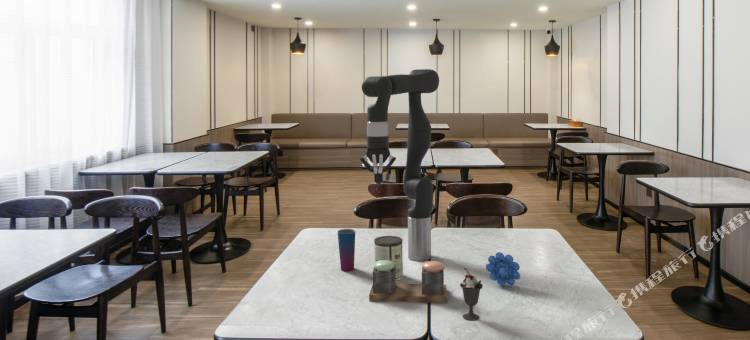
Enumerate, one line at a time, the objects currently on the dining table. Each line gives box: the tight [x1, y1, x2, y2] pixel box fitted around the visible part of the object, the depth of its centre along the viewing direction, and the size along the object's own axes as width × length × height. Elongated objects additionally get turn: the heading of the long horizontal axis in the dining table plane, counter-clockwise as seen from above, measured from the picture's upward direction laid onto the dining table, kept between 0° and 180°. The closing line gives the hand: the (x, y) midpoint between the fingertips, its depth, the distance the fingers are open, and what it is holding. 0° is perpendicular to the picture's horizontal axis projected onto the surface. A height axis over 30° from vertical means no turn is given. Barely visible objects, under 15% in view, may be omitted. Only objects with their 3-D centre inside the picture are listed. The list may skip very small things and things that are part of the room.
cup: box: [337, 228, 356, 272], centre depth 200 cm, size 7×7×15 cm
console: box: [368, 265, 448, 304], centre depth 174 cm, size 25×11×9 cm, turn 83°
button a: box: [374, 260, 394, 272], centre depth 174 cm, size 6×6×8 cm
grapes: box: [485, 251, 521, 287], centre depth 179 cm, size 12×7×12 cm, turn 80°
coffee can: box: [373, 235, 404, 282], centre depth 191 cm, size 10×10×14 cm
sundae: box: [459, 267, 483, 322], centre depth 156 cm, size 7×7×15 cm
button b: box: [422, 260, 444, 273], centre depth 172 cm, size 6×6×8 cm
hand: (378, 183), depth 185 cm, fingers closed
